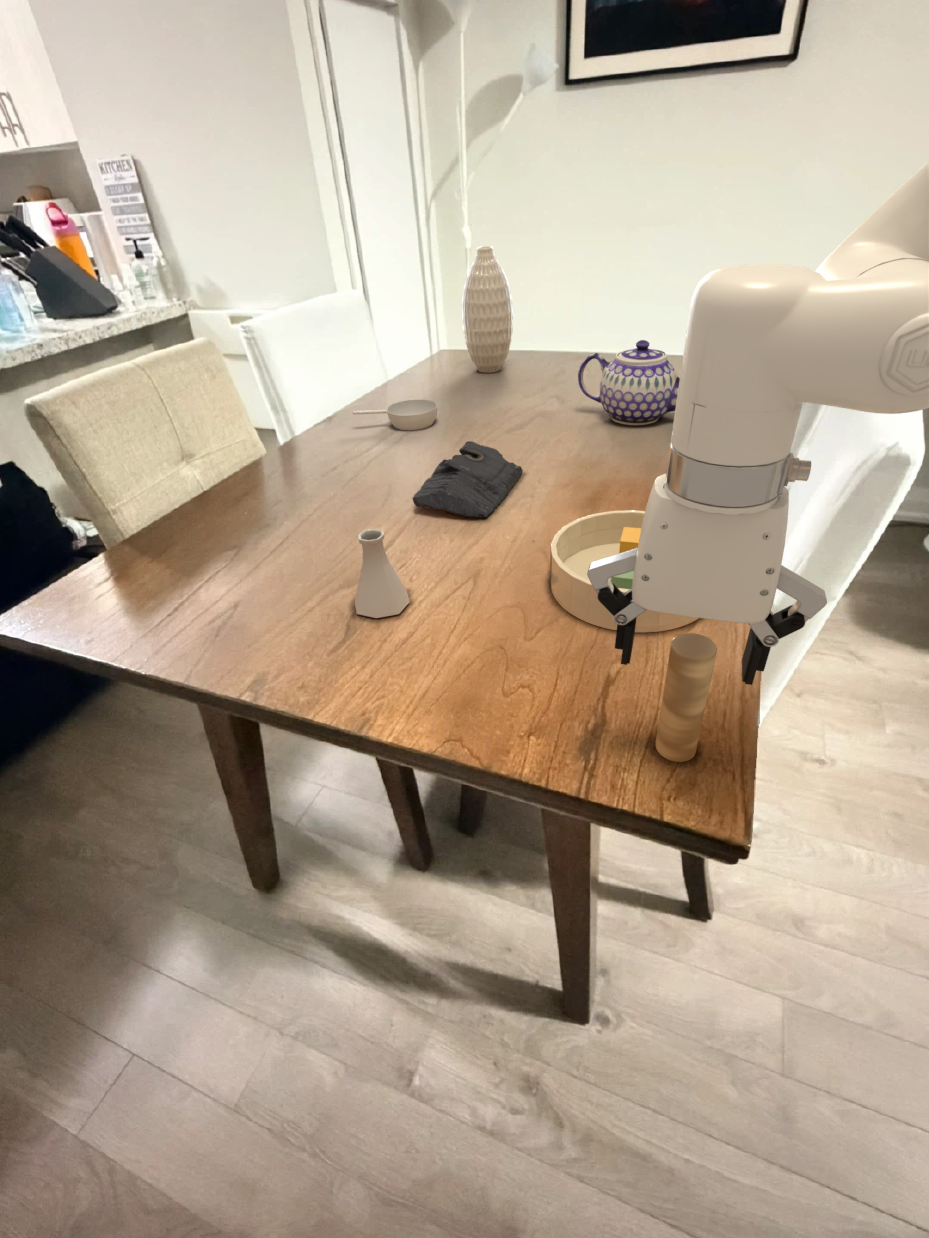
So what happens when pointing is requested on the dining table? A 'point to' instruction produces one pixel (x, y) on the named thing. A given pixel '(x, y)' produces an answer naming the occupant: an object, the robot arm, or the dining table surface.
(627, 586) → the sage block
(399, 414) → the small pan
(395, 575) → the flask
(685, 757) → the beige marbled cylinder
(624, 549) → the mustard block
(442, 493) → the dark slate chunk
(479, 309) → the vase
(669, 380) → the teapot
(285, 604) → the dining table surface
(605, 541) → the bowl
